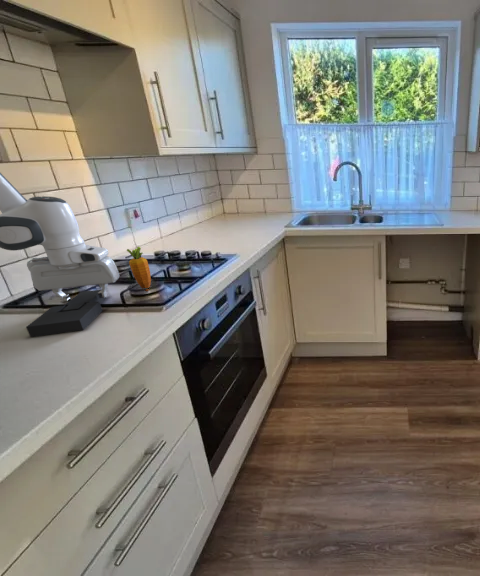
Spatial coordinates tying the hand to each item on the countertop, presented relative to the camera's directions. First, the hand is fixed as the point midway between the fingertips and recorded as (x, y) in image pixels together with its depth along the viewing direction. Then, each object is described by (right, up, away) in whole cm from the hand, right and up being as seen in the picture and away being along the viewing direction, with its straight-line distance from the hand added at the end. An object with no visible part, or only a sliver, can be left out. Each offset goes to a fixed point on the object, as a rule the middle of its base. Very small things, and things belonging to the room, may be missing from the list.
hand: (85, 299), depth 108 cm
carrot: (+12, +2, +10) cm, 16 cm away
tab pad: (+1, -3, -1) cm, 3 cm away
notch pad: (+3, -6, -9) cm, 12 cm away
